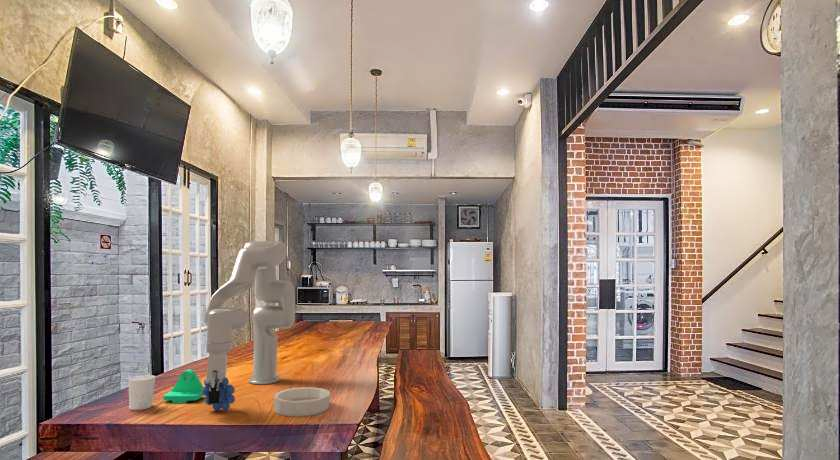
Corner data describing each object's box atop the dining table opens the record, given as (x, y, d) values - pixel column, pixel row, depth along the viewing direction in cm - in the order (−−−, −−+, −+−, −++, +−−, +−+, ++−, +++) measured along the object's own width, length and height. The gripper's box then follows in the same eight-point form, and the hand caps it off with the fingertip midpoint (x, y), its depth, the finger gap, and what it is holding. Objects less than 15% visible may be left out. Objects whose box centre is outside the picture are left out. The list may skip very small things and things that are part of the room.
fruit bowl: (276, 402, 171) (276, 388, 172) (328, 399, 175) (328, 386, 176) (272, 418, 153) (272, 403, 154) (330, 414, 157) (330, 400, 158)
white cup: (134, 412, 158) (136, 381, 159) (122, 408, 163) (124, 378, 163) (158, 406, 165) (159, 376, 166) (146, 402, 169) (147, 374, 170)
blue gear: (194, 414, 157) (195, 377, 158) (204, 408, 164) (205, 372, 165) (228, 415, 156) (229, 377, 157) (237, 409, 163) (238, 373, 164)
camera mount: (161, 403, 169) (163, 374, 170) (172, 397, 177) (173, 369, 177) (196, 403, 169) (197, 374, 170) (205, 397, 177) (206, 369, 178)
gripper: (211, 343, 169) (209, 393, 168) (201, 352, 152) (198, 407, 151) (234, 343, 171) (232, 392, 169) (226, 351, 154) (224, 405, 153)
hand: (216, 399), depth 160 cm, fingers open, 9 cm apart
